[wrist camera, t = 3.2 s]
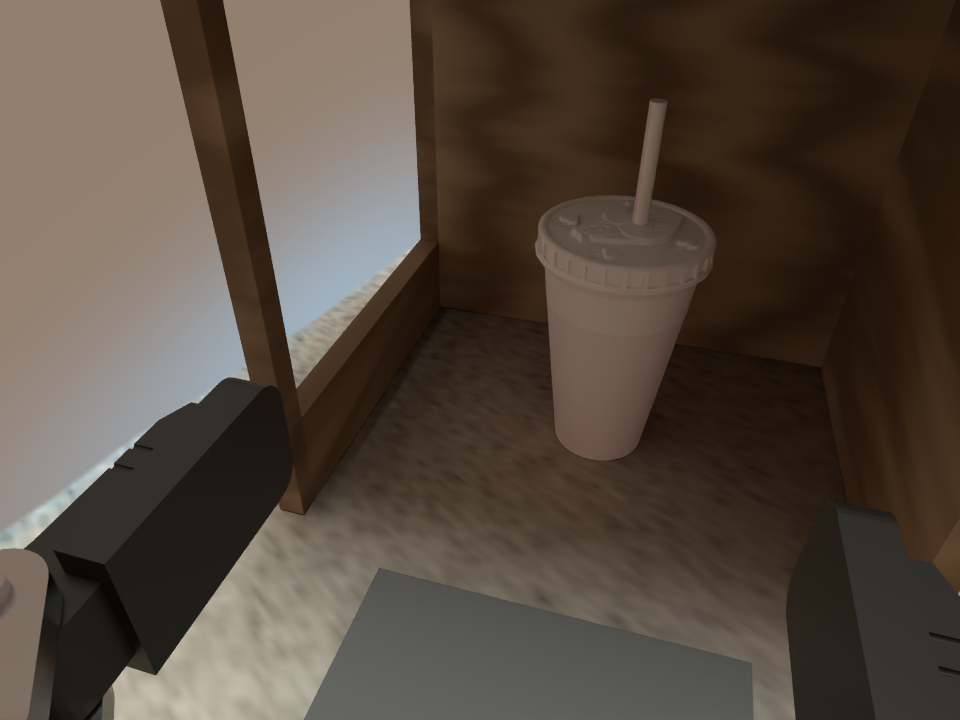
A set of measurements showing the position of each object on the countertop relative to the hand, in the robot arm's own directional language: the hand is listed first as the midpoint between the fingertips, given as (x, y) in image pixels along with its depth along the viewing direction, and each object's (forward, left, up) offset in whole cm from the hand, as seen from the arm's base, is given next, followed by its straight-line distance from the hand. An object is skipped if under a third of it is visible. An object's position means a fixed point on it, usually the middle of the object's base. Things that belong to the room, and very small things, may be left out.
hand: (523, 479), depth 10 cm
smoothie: (0, -16, -13) cm, 21 cm away
